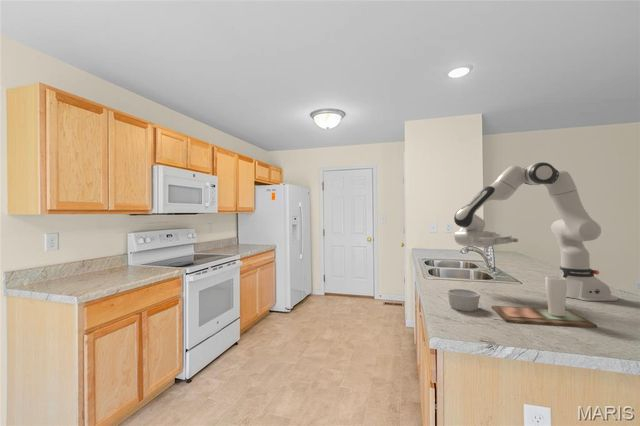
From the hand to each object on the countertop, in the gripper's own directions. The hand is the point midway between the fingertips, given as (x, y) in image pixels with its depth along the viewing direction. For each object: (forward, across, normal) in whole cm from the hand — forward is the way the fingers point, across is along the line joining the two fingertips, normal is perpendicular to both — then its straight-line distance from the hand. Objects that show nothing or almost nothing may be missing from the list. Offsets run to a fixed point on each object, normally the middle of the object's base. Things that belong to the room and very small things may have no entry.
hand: (512, 241), depth 145 cm
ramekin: (-7, -30, +29) cm, 42 cm away
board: (+17, -16, +29) cm, 37 cm away
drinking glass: (+22, -12, +28) cm, 37 cm away
